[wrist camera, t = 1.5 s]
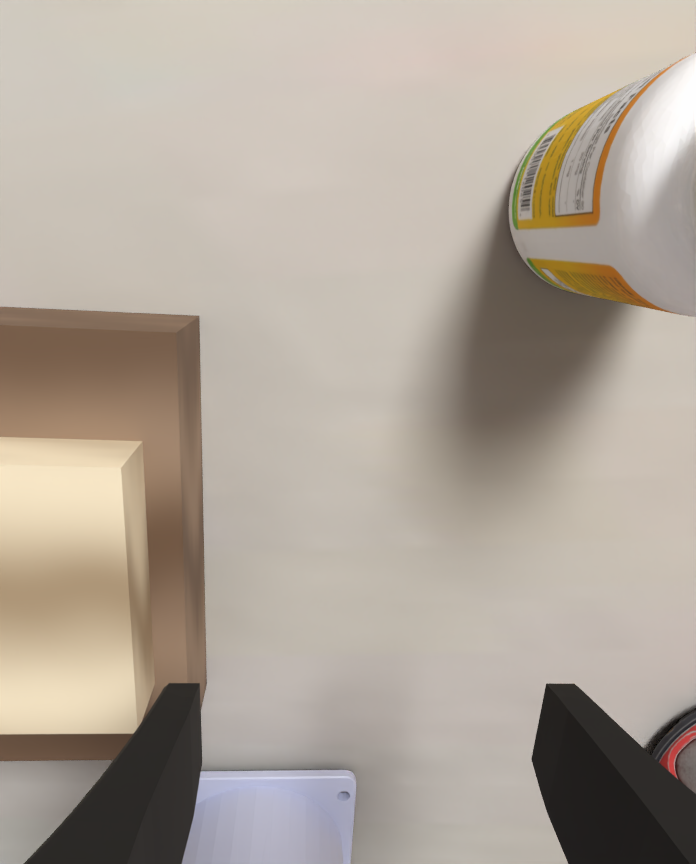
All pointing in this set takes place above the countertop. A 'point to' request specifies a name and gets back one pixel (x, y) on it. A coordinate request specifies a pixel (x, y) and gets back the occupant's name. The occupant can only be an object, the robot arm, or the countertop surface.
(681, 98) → the supplement bottle
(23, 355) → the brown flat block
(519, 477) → the countertop surface
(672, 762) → the speaker
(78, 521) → the maple block
